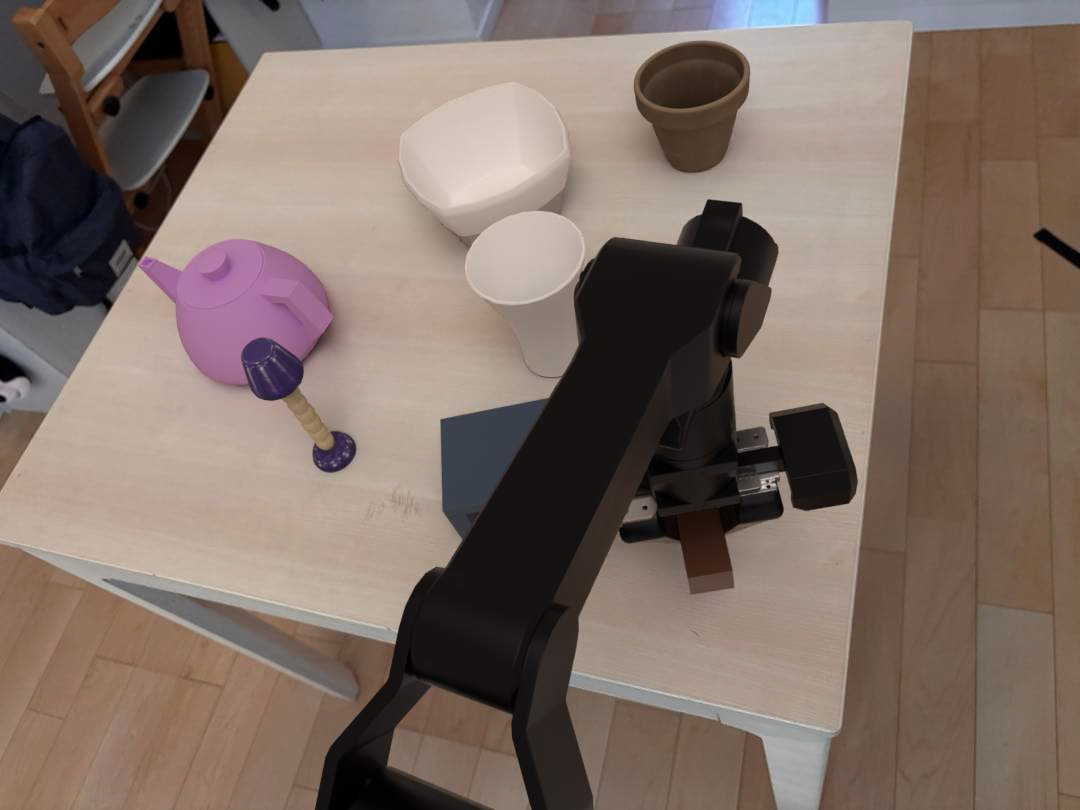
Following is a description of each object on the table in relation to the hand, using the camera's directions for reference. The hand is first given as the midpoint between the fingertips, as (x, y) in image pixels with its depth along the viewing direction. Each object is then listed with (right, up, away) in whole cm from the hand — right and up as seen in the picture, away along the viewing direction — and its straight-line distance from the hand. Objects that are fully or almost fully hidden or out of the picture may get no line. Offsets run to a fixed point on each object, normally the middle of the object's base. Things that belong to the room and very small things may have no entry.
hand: (700, 532), depth 61 cm
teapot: (-41, +16, +33) cm, 55 cm away
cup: (-10, +14, +23) cm, 29 cm away
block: (0, -1, +1) cm, 1 cm away
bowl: (-15, +31, +36) cm, 49 cm away
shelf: (-9, +3, +15) cm, 18 cm away
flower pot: (+6, +36, +34) cm, 50 cm away
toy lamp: (-31, +4, +22) cm, 38 cm away
